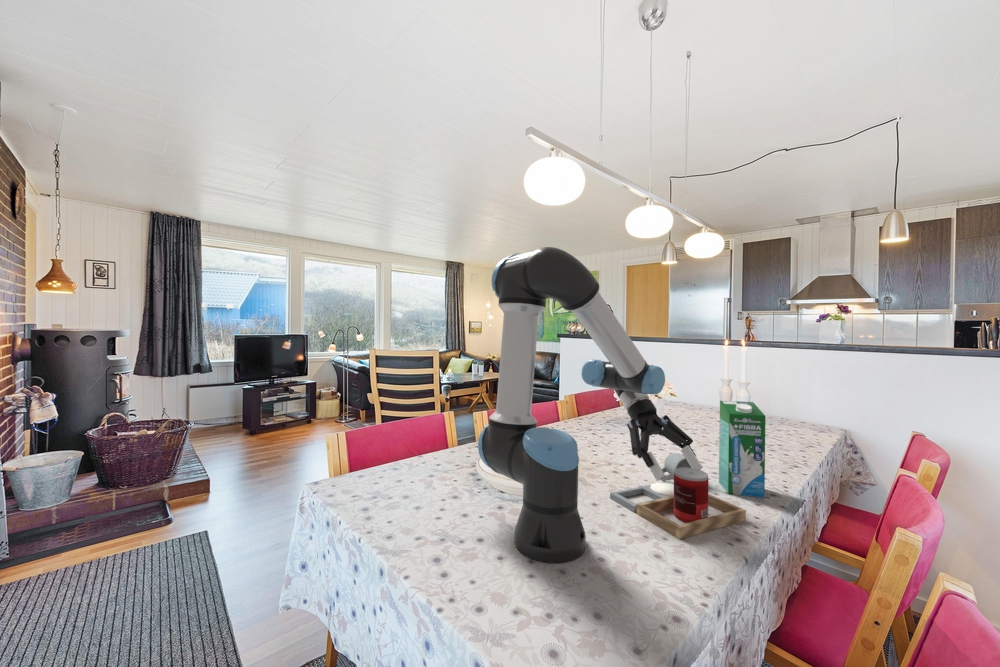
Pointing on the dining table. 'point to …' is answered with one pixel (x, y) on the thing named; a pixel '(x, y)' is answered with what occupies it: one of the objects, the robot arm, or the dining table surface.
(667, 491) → the grey rectangular frame
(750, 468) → the milk carton
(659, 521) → the oak pen
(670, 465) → the ceramic mug
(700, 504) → the canned food
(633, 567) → the dining table surface
